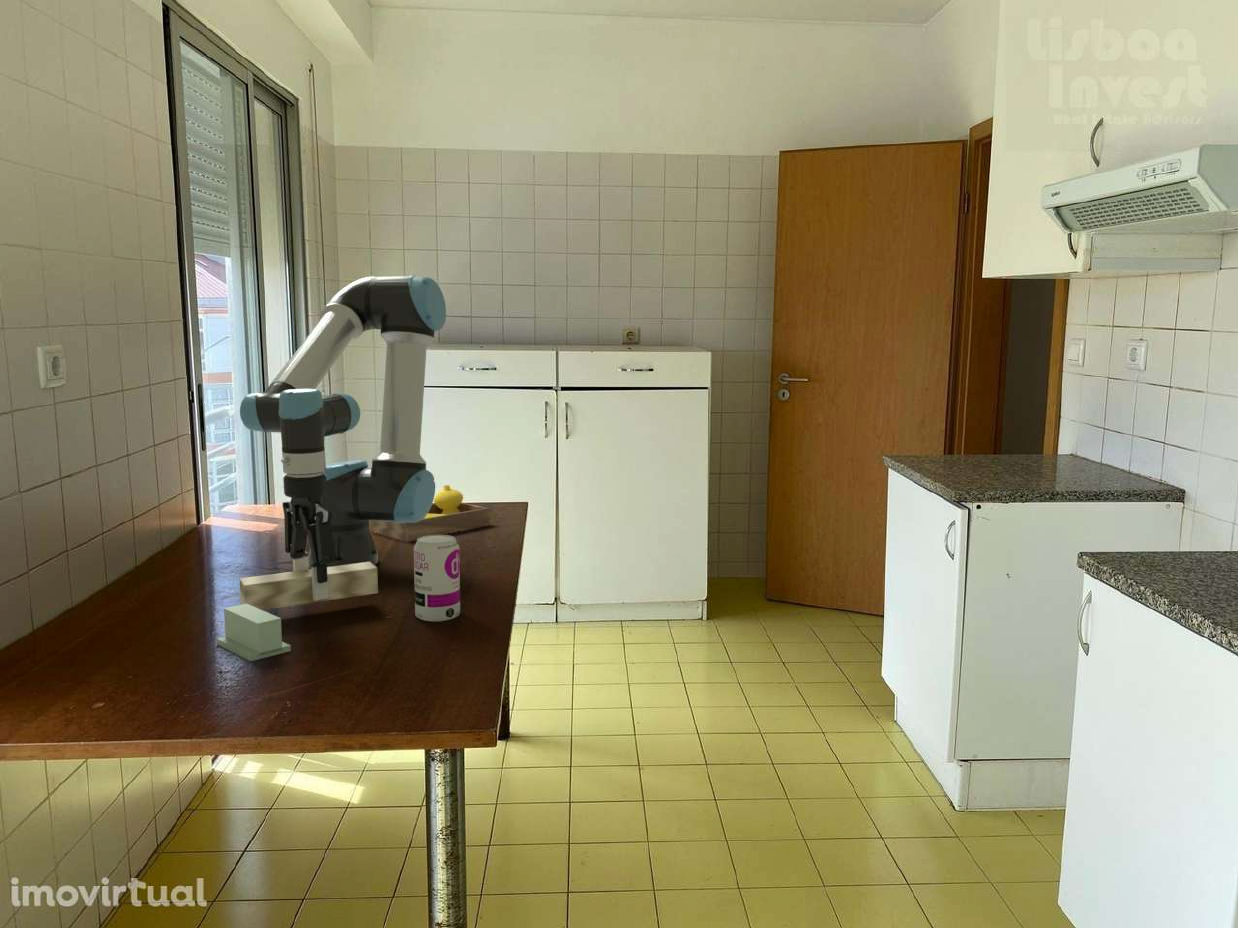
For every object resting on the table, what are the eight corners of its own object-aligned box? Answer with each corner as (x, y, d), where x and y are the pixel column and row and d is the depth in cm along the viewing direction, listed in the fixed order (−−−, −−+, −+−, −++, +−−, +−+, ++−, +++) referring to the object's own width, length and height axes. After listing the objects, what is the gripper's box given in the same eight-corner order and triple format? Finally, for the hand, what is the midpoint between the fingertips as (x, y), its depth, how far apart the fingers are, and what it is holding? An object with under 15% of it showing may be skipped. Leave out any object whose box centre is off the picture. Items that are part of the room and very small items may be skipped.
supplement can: (467, 613, 182) (466, 536, 180) (446, 625, 175) (444, 545, 172) (430, 609, 185) (428, 532, 183) (407, 621, 177) (405, 541, 175)
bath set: (423, 542, 245) (416, 501, 243) (395, 540, 251) (388, 500, 249) (476, 521, 261) (470, 482, 259) (449, 519, 267) (443, 482, 265)
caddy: (371, 536, 248) (370, 513, 247) (452, 521, 267) (452, 500, 266) (407, 546, 237) (406, 522, 236) (489, 530, 256) (489, 508, 255)
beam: (245, 612, 172) (244, 585, 171) (240, 604, 177) (239, 578, 176) (378, 592, 184) (377, 567, 184) (370, 586, 189) (369, 561, 188)
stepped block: (217, 644, 163) (215, 610, 163) (256, 634, 168) (254, 601, 168) (250, 661, 155) (248, 625, 154) (290, 650, 160) (289, 616, 160)
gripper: (260, 470, 180) (267, 588, 184) (312, 483, 167) (319, 610, 171) (297, 465, 186) (303, 580, 189) (350, 477, 173) (356, 601, 177)
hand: (311, 594), depth 180 cm, fingers closed on beam, 6 cm apart
